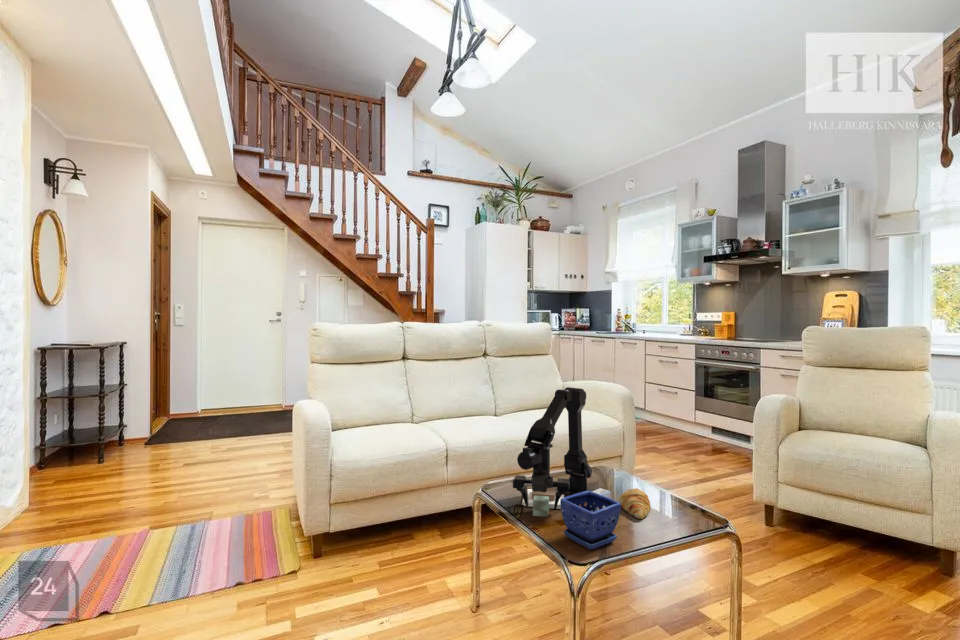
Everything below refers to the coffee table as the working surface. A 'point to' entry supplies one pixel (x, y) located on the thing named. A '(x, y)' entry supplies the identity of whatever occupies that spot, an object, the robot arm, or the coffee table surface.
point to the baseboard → (551, 503)
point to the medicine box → (602, 492)
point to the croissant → (635, 503)
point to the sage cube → (541, 506)
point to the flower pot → (590, 518)
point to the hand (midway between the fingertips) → (541, 508)
